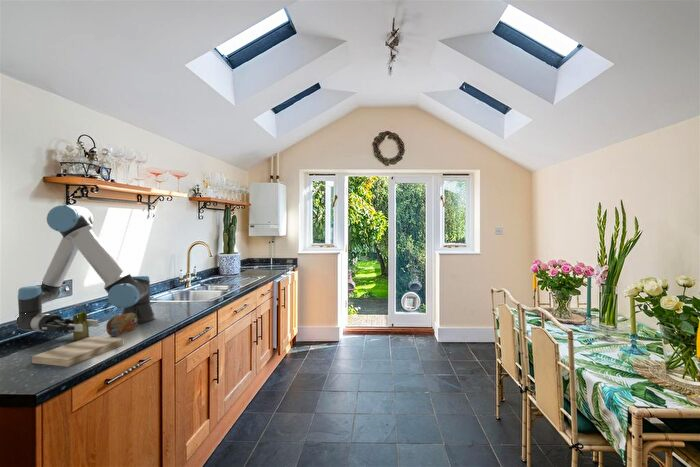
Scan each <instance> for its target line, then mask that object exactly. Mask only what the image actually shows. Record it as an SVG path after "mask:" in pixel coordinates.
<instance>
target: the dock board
mask: <svg viewBox="0 0 700 467" xmlns="http://www.w3.org/2000/svg"><path fill="white" fill-rule="evenodd" d="M123 345H124V338H122V337H121V338H120V337H109V336H108V337H107V336H106V337H105V336H95V335H94V336H93V335H91V336H89V337H88V338H85V339H82V340H79V341H73V342H70V343H67V344H64V345H61V346H59V347H55V348H52V349H49V350H47V351H43V352H41V353H40V352H39V353H37V354H35V355H32V356H31V360H32V362H31V363H32V364H37V365H40V364H41V365H49V366H56V367H57V366H58V367H70V366H73V365H76V364H78V363H81V362H83V361H86V360H88V359H90V358H93V357H96V356H98V355H101V354H103V353H106V352H108V351H110V350H113V349H115V348H118V347H121V346H123Z"/></svg>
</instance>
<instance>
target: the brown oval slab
mask: <svg viewBox="0 0 700 467" xmlns="http://www.w3.org/2000/svg"><path fill="white" fill-rule="evenodd" d="M121 314H122V313H121ZM121 314H120V315H117V316H114V317H111V318H109V319H108V321H107V322H106V332H107V334H108V335H109V336H112V337H113V336H114V337H119V336H121V335H123V334H127V333H129V332H132V331H133V330H135V329H136V328H137V326H138V325H139V324H138V316H137V314H135V313H133V312H131V313H125V314H122V315H121Z"/></svg>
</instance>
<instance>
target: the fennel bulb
mask: <svg viewBox="0 0 700 467" xmlns="http://www.w3.org/2000/svg"><path fill="white" fill-rule="evenodd" d="M72 317H73V320H74V324H79V325H83V331H82V332H78V331H72V333H73V334H72V336H73V341H74V342H76V341H79V340H82V339H85V338H88V337H90V336H89V326H88V324H87V317H88V312H87V311H80V312H78V313H77V314H73V315H72ZM77 317H78V319H77Z"/></svg>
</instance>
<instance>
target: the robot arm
mask: <svg viewBox="0 0 700 467" xmlns="http://www.w3.org/2000/svg"><path fill="white" fill-rule="evenodd" d="M93 222H94V217H93V213H92V212H90V210H89V209H88V208H85V207H83V206H80V205H79V206H77V205H76V206H75V205H70V204H62V205H61V204H60V205H57V206H54V207H52V208H51V209H50V210H48V213H47V216H46V223H47V224H48V226H49V227H50V229H52V230H54V231H56V232H59V233H60V234H61V236H62V238H61V240H60V243H59V244H58V247H57V249H56V250H55V252H54V255H53V257H52V259H51V261H50V263H49V264H48V267H47V270H46V271H45V274H44V276H43V278H42V280H43V281H41V282H42V285H41V287H40V285H28V286H23V287H19V289H18V291H17V302H18V304H17V306H18V314H19V317H18V318H17V324H18V327H19V329H21V330H20V331H23V332H25V331H26V332H28V331H29V332H41V333H63V332H64V334H68V333H69V332H73V331H78V332H82V331H83V325H79V324H74V320H73V316H72V317H71V318H66V317H62V315H60V314H51V313H43V304H46V303H50V302H53V301H54V300H56V299H58V298H59V297H60V296H61V294H62V289H61V286H62V284H63V283H64V280H65V279H66V277H67V274H68V273H69V272H68V271H69V270H70V267H71V265H72V263H73V261H74V259H75V257H76V255H77V253H78V251H79V252H80V253H81V255H82V256H83V257H84V258H85V259H86V261H87V262H88V263H89V265H90V266H91V267H92V268H93V270H94V271H95V273H96V274H97V275H98V277H100V279H101V280H102V282H103V283H104V287H103V289H104V290H105V292H106V293H107V299H108V302H109V303H110V304H111V305H112V306H113V307H115V308H118V309H122V311H121V314H120V315H122V314H125V313H131V312H133V313H135V314H137V316H138V325H139V324H143V323H148V322H150V321H154V319H155V313H154V312H153V308H152V306H151V290H150V289H151V287H150V286H151V285H150V284H151V280H150V277H149V275H133V276H132V275H131V274H130V273H127V272H124V271H123V269H122V268H121V266H119V264H118V263H117V262H116V260H115V259H114V257H112V255H111V254H110V252H109V251H108V249H106V247H105V246H104V245H103V243H102V242H101V241H100V240H99V238H98V237H97V236H96V235H95V233H94V232H93V227H94V225H93ZM25 313H26V314H25ZM77 319H78V316H77ZM87 324H88V327H94V328H97V327H99V325H100V324H99V319H92V318H91V317H88V316H87ZM19 329H18V330H19Z"/></svg>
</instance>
